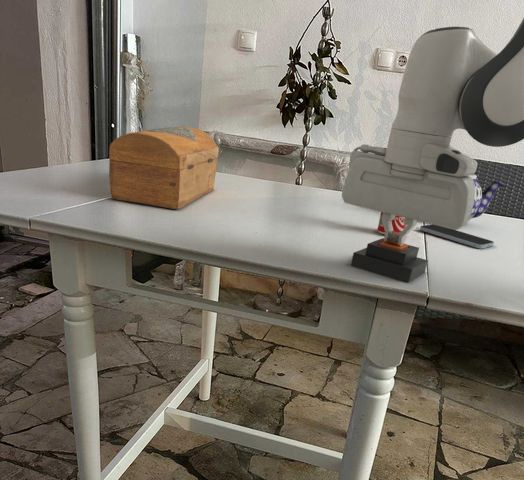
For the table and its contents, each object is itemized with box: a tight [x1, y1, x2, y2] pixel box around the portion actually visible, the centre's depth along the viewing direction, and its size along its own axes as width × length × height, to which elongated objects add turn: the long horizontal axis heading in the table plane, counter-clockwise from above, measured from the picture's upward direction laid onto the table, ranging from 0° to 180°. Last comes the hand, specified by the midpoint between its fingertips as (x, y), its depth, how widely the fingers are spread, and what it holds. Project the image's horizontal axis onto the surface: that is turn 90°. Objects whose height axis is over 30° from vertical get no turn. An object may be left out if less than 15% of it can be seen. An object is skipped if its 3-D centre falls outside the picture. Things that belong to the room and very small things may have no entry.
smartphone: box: [419, 224, 495, 249], centre depth 112 cm, size 7×1×15 cm
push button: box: [350, 237, 429, 283], centre depth 83 cm, size 10×8×4 cm
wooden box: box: [108, 126, 220, 210], centre depth 114 cm, size 30×16×14 cm, turn 169°
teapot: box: [469, 173, 506, 221], centre depth 127 cm, size 25×15×15 cm, turn 84°
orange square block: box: [379, 242, 409, 251], centre depth 82 cm, size 4×4×2 cm
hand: (393, 243), depth 82 cm, fingers closed, pressing on orange square block
